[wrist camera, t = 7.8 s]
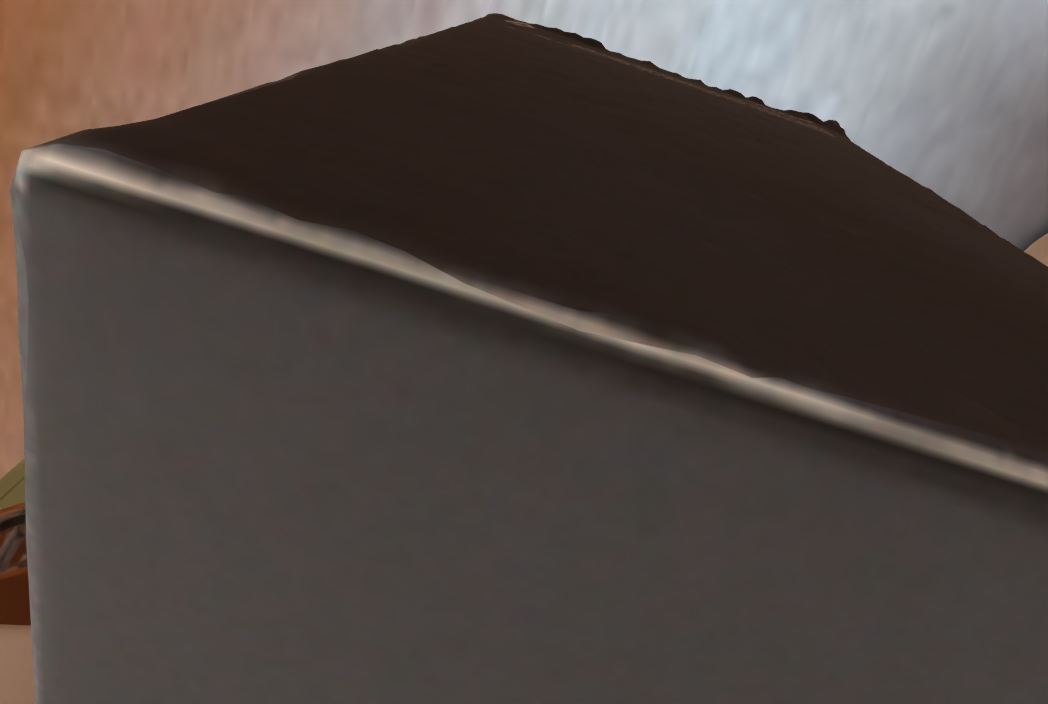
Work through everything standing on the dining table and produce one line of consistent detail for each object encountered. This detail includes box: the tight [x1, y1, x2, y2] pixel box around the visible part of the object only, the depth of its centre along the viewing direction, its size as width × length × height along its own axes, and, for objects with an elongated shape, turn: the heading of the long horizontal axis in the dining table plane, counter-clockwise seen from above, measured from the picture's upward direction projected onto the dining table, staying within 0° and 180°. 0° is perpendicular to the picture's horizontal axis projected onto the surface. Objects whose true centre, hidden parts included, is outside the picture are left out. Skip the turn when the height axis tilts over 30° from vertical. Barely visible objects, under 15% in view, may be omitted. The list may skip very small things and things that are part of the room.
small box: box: [10, 13, 1048, 704], centre depth 9 cm, size 11×6×10 cm, turn 163°
